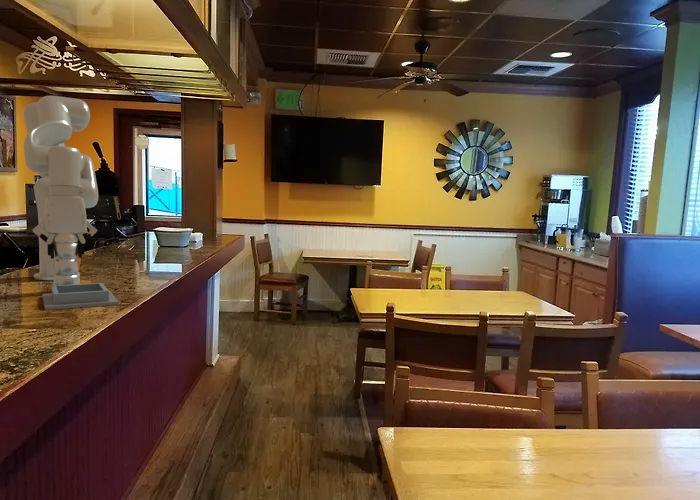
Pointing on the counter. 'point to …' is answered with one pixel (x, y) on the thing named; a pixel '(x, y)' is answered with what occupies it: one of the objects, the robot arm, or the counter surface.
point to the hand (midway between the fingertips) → (66, 257)
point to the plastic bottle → (66, 258)
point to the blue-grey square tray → (78, 296)
